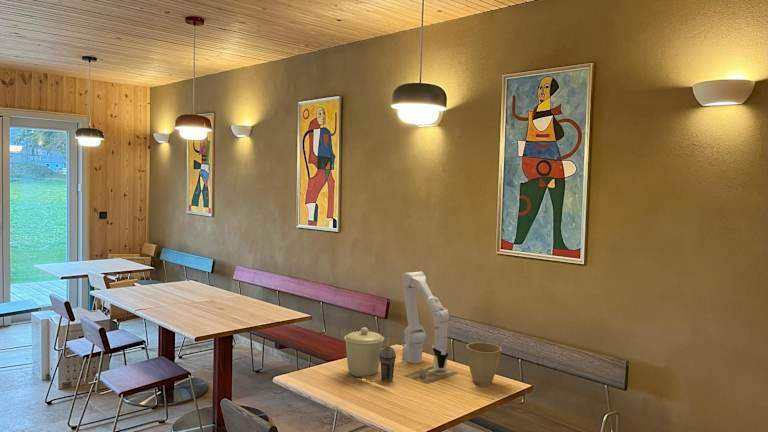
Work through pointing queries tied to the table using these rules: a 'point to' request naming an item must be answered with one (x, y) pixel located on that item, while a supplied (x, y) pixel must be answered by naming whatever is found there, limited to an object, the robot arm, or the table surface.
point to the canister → (363, 352)
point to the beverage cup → (387, 362)
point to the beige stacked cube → (437, 364)
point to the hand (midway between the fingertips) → (439, 365)
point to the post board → (430, 375)
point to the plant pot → (483, 362)
